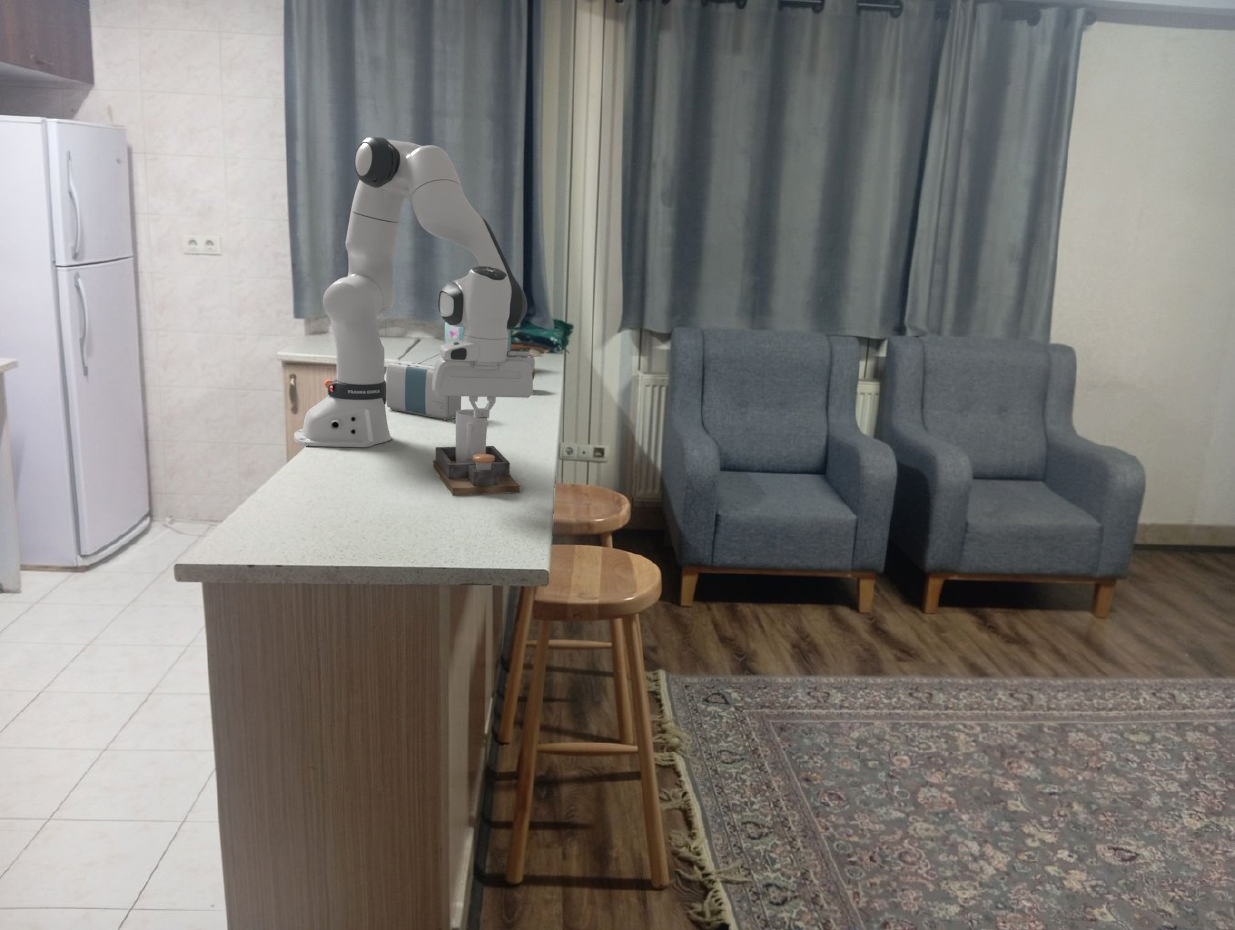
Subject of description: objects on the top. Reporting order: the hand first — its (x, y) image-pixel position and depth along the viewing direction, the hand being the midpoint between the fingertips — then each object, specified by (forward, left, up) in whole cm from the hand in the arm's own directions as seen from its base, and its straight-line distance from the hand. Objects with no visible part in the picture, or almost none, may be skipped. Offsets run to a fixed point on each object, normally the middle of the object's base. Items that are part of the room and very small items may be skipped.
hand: (481, 417), depth 205 cm
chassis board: (+1, +7, -15) cm, 17 cm away
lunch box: (+30, +137, -15) cm, 142 cm away
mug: (0, +11, -14) cm, 18 cm away
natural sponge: (+36, +104, -15) cm, 112 cm away
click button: (+1, 0, -13) cm, 13 cm away
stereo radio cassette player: (+1, +73, -15) cm, 75 cm away
